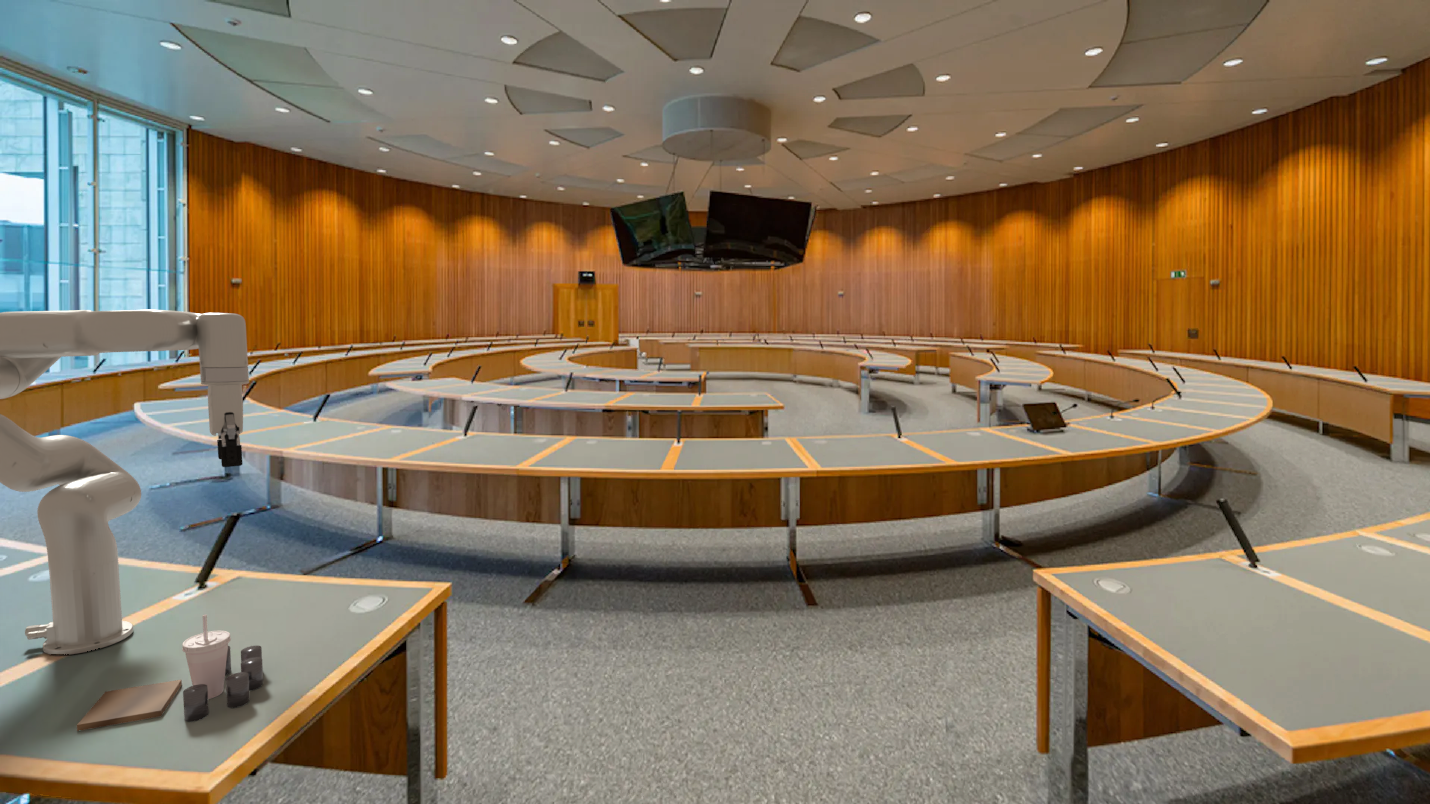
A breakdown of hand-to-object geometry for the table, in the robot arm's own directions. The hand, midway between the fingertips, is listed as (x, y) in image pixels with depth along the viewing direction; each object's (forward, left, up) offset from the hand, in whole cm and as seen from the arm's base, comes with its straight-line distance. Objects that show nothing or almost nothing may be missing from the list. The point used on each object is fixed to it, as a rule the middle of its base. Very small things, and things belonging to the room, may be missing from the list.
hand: (230, 462), depth 127 cm
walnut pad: (-9, -26, -35) cm, 44 cm away
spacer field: (+4, -26, -35) cm, 44 cm away
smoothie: (+1, -26, -35) cm, 44 cm away
